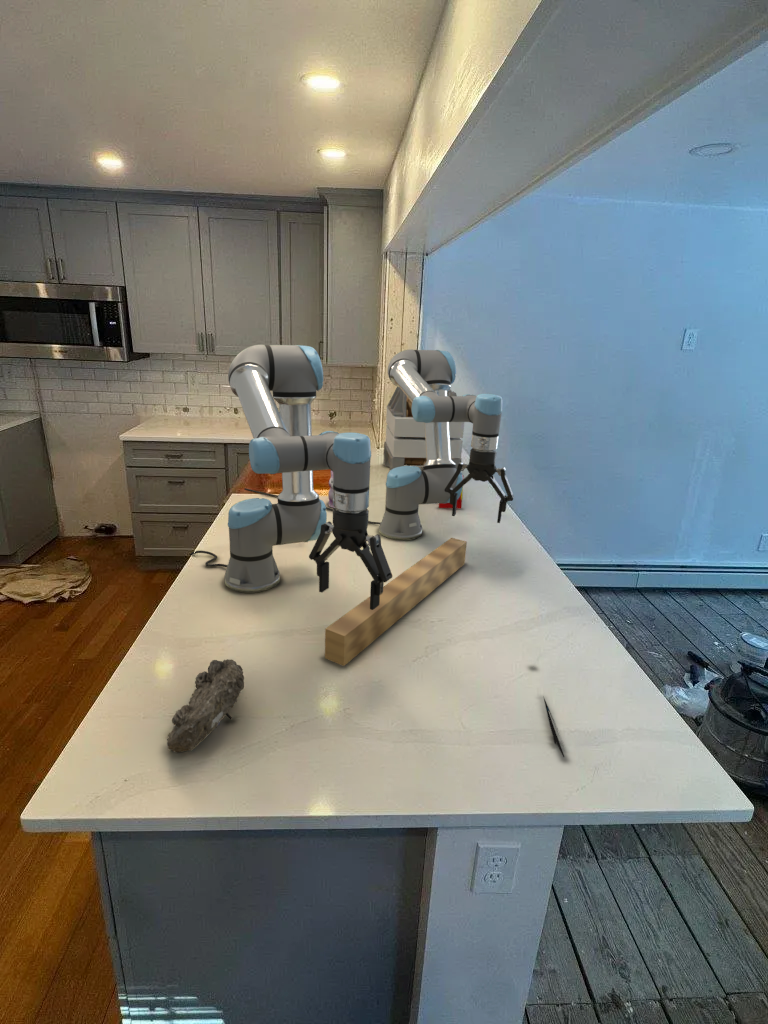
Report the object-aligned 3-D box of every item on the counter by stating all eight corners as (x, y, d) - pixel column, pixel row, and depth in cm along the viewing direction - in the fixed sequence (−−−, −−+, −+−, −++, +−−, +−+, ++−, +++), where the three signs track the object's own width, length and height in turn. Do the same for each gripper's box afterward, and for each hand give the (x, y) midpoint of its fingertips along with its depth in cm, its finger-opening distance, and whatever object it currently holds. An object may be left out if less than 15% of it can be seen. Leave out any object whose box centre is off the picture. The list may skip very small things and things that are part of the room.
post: (449, 559, 181) (451, 537, 178) (464, 564, 179) (466, 541, 176) (324, 658, 128) (325, 628, 125) (343, 666, 125) (344, 636, 122)
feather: (533, 672, 128) (539, 666, 127) (564, 762, 101) (571, 754, 101) (527, 668, 128) (533, 662, 127) (556, 757, 101) (563, 750, 100)
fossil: (192, 660, 117) (244, 628, 112) (224, 691, 120) (276, 661, 115) (142, 746, 98) (202, 712, 93) (182, 779, 101) (242, 748, 96)
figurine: (332, 510, 220) (332, 472, 215) (322, 501, 228) (322, 465, 223) (354, 507, 224) (355, 470, 219) (343, 499, 232) (344, 463, 227)
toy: (456, 466, 252) (467, 476, 223) (454, 496, 255) (465, 509, 225) (428, 465, 252) (437, 475, 222) (427, 495, 254) (435, 508, 225)
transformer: (382, 463, 289) (386, 382, 275) (445, 464, 293) (451, 384, 279) (390, 482, 257) (394, 392, 243) (460, 483, 261) (468, 394, 247)
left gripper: (292, 500, 121) (293, 589, 129) (393, 526, 110) (388, 622, 117) (314, 492, 128) (314, 577, 135) (411, 515, 116) (406, 607, 123)
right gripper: (438, 447, 163) (432, 515, 170) (526, 457, 156) (517, 528, 164) (443, 441, 170) (438, 508, 177) (528, 451, 163) (519, 520, 171)
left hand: (348, 598), depth 126 cm, fingers open, 13 cm apart
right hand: (476, 518), depth 170 cm, fingers open, 13 cm apart
